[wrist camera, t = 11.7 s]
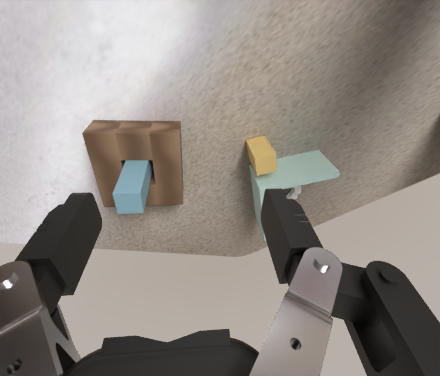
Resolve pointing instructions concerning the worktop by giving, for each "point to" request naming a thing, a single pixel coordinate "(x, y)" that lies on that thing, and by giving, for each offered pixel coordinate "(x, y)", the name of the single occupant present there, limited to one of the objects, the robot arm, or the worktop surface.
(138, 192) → the long peg
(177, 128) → the hole block
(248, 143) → the short peg
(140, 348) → the robot arm
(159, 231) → the worktop surface
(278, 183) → the l-shaped corner panel
